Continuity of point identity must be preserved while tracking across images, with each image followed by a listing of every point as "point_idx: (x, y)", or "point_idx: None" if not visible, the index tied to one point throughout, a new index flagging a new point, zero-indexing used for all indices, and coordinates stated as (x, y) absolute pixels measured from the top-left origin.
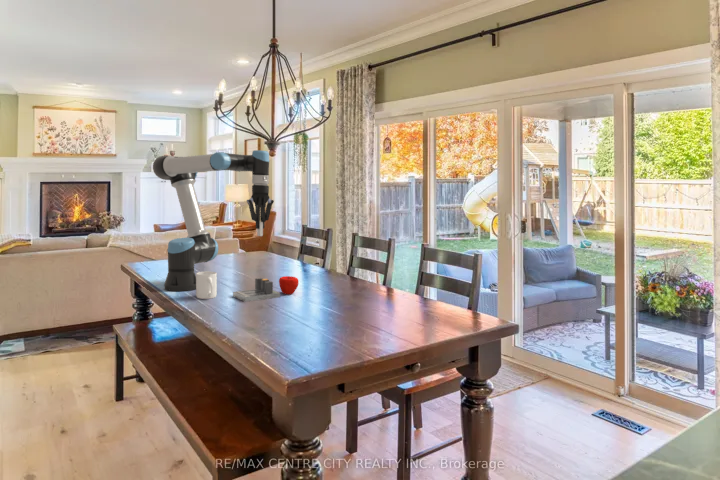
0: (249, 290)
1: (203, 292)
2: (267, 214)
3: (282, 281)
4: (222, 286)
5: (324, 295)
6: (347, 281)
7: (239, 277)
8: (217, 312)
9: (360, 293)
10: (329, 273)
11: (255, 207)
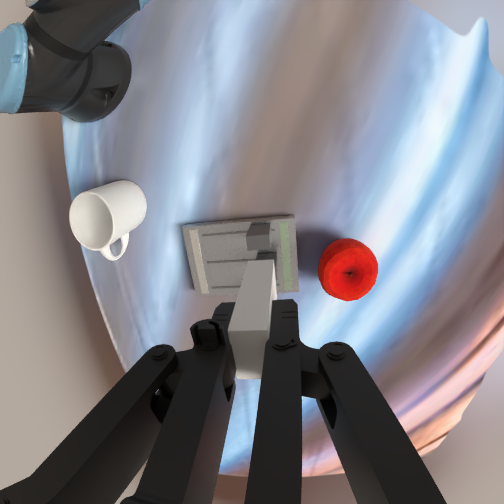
0: (230, 228)
1: (109, 229)
2: (336, 442)
3: (321, 284)
4: (194, 81)
5: (400, 310)
6: None
7: None
8: (138, 333)
9: (463, 320)
10: None
11: (138, 489)
